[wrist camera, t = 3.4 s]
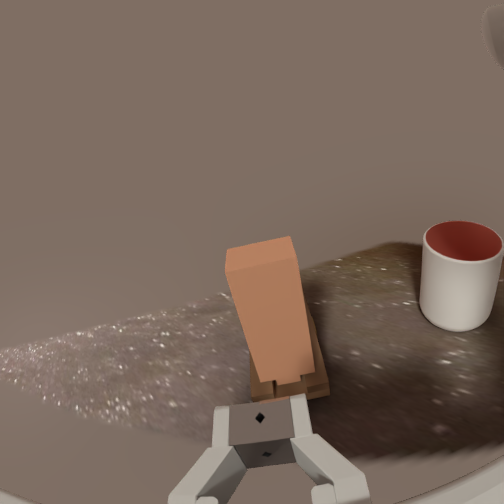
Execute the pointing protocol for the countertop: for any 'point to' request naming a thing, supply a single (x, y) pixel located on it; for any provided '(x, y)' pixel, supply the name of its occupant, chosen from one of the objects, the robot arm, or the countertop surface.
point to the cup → (459, 274)
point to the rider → (271, 308)
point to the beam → (309, 383)
